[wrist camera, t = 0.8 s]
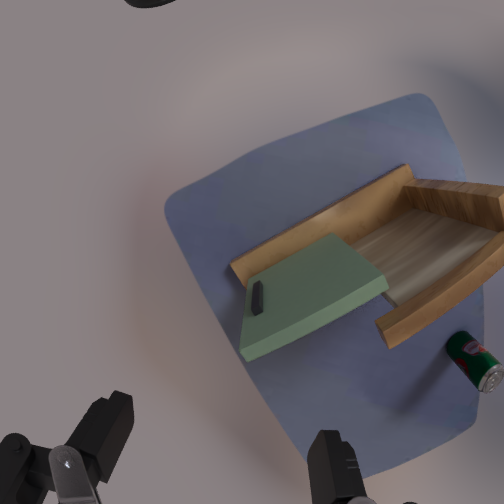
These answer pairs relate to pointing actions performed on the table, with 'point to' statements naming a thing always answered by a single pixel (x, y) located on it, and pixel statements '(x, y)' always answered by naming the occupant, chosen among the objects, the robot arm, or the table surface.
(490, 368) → the soda can
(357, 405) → the table surface
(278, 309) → the door
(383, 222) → the door frame
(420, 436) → the table surface
